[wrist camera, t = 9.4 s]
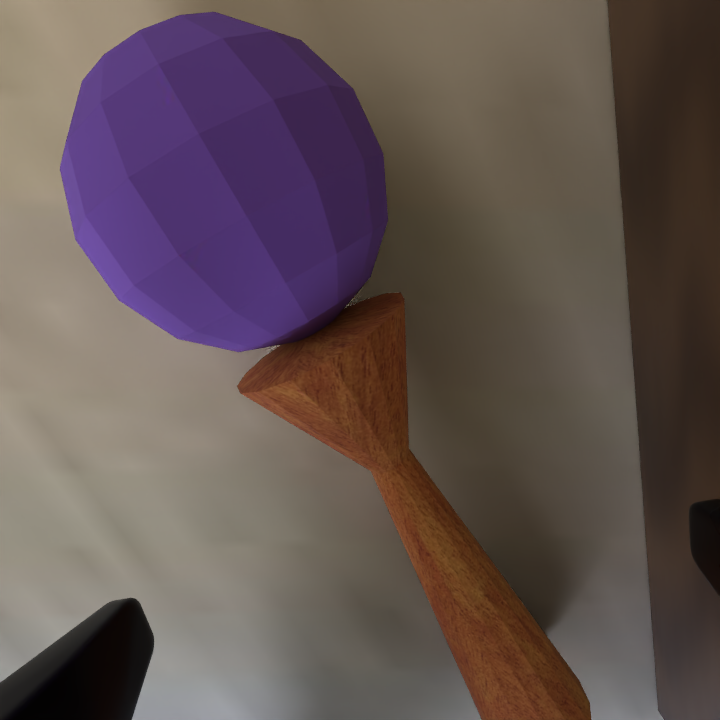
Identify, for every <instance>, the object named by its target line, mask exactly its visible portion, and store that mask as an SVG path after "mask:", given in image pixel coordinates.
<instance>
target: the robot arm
mask: <svg viewBox="0 0 720 720" xmlns="http://www.w3.org/2000/svg"><path fill="white" fill-rule="evenodd" d="M689 535H690V550H691V554H692V557H693V559H694V561H695V563H696V565H697V566H698V568H699V569H700V571H701V572H702V573H703V575H704V576H705V578H706V579H707V580H708V582H709V583H710V585H711V586H712V587H713V589H714V590H715V592H716V593H717V594H718V596H719V597H720V499H712V500H706V501H700V502H695V503H693V504H692V505H691V506H690V508H689ZM153 648H154V636H153V633H152V630H151V628H150V626H149V623H148V621H147V618H146V616H145V614H144V611H143V609H142V607H141V604H140V603H139V601H137V600H136V599H135V598H127V599H121V600H115V601H111V602H109V603H107V604H106V605H105V606H103V607H102V608H100V609H99V610H98V611H96V612H95V613H94V614H92V615H91V616H90V617H88V618H87V619H86V620H84V621H83V622H82V623H80V624H79V625H78V626H76V627H75V628H73V629H72V630H71V631H69V632H68V633H67V634H65V635H64V636H63V637H61V638H60V639H59V640H57V641H56V642H55V643H53V644H52V645H51V646H49V647H48V648H47V649H45V650H44V651H42V652H41V653H40V654H38V655H37V656H36V657H34V658H33V659H32V660H30V661H29V662H28V663H26V664H25V665H24V666H22V667H21V668H20V669H18V670H17V671H16V672H14V673H13V674H11V675H10V676H9V677H7V678H6V679H5V680H3V681H2V682H1V683H0V720H132V717H133V714H134V711H135V707H136V704H137V701H138V698H139V695H140V691H141V688H142V685H143V682H144V679H145V676H146V672H147V669H148V666H149V663H150V660H151V656H152V653H153Z"/></svg>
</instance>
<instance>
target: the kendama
mask: <svg viewBox="0 0 720 720" xmlns="http://www.w3.org/2000/svg"><path fill="white" fill-rule="evenodd" d="M60 171H61V176H62V181H63V185H64V190H65V194H66V199H67V203H68V208H69V212H70V217H71V221H72V226H73V230H74V235H75V239H76V241H77V242H78V244H79V245H80V247H81V248H82V249H83V251H84V252H85V254H86V255H87V256H88V258H89V259H90V261H91V262H92V263H93V265H94V266H95V268H96V269H97V270H98V272H99V273H100V275H101V276H102V277H103V279H104V280H105V281H106V283H107V284H108V286H109V287H110V288H111V290H112V291H113V293H114V294H115V295H116V297H117V298H118V300H119V301H121V302H122V303H124V304H125V305H127V306H129V307H130V308H132V309H133V310H135V311H136V312H138V313H139V314H141V315H142V316H144V317H145V318H147V319H148V320H150V321H151V322H153V323H154V324H156V325H157V326H159V327H160V328H162V329H164V330H165V331H167V332H168V333H170V334H171V335H173V336H174V337H176V338H177V339H181V340H186V341H190V342H195V343H199V344H204V345H209V346H213V347H218V348H223V349H227V350H232V351H236V352H241V351H247V350H253V349H258V348H264V347H269V346H275V345H280V346H279V347H277V348H276V349H275V350H273V351H272V352H270V353H269V354H268V355H266V356H265V357H263V358H262V359H261V360H260V361H259V362H258V363H257V364H256V365H255V366H253V367H252V368H251V369H250V370H249V371H248V372H247V373H246V374H245V375H244V377H243V378H242V380H241V381H240V383H239V384H238V385H237V387H238V389H239V391H240V393H241V394H243V395H244V396H246V397H248V398H249V399H251V400H253V401H254V402H256V403H258V404H259V405H261V406H263V407H264V408H266V409H268V410H269V411H271V412H273V413H274V414H276V415H278V416H279V417H281V418H283V419H284V420H286V421H288V422H289V423H291V424H293V425H295V426H296V427H298V428H300V429H301V430H303V431H305V432H306V433H308V434H310V435H311V436H313V437H315V438H316V439H318V440H320V441H321V442H323V443H325V444H326V445H328V446H330V447H331V448H333V449H335V450H336V451H338V452H340V453H341V454H343V455H345V456H346V457H348V458H350V459H352V460H353V461H355V462H357V463H358V464H360V465H362V466H363V467H365V468H367V469H368V470H370V471H371V472H372V475H373V477H374V479H375V481H376V484H377V486H378V488H379V490H380V493H381V495H382V497H383V499H384V501H385V504H386V506H387V508H388V510H389V513H390V515H391V517H392V519H393V522H394V524H395V526H396V528H397V531H398V533H399V535H400V537H401V540H402V542H403V544H404V546H405V548H406V551H407V553H408V555H409V557H410V560H411V562H412V564H413V566H414V569H415V571H416V573H417V575H418V578H419V580H420V582H421V584H422V587H423V589H424V591H425V593H426V595H427V598H428V600H429V602H430V604H431V607H432V609H433V611H434V613H435V616H436V618H437V620H438V622H439V625H440V627H441V629H442V631H443V634H444V636H445V638H446V640H447V642H448V645H449V647H450V649H451V651H452V654H453V656H454V658H455V660H456V663H457V665H458V667H459V669H460V672H461V674H462V676H463V678H464V681H465V683H466V685H467V687H468V689H469V692H470V694H471V696H472V698H473V701H474V703H475V705H476V707H477V710H478V712H479V714H480V716H481V719H482V720H591V711H590V702H589V700H588V698H587V696H586V694H585V692H584V690H583V687H582V685H581V683H580V681H579V680H578V678H577V677H576V675H575V674H574V673H573V671H572V670H571V669H570V667H569V666H568V665H567V663H566V662H565V660H564V659H563V658H562V656H561V655H560V654H559V652H558V651H557V650H556V648H555V647H554V645H553V644H552V643H551V641H550V640H549V639H548V637H547V636H546V635H545V633H544V632H543V631H542V629H541V628H540V626H539V625H538V624H537V622H536V621H535V620H534V618H533V617H532V616H531V614H530V613H529V611H528V610H527V609H526V607H525V606H524V605H523V603H522V602H521V601H520V599H519V598H518V596H517V595H516V594H515V592H514V591H513V590H512V588H511V587H510V586H509V584H508V583H507V581H506V580H505V579H504V577H503V576H502V575H501V573H500V572H499V571H498V569H497V568H496V566H495V565H494V564H493V562H492V561H491V560H490V558H489V557H488V556H487V554H486V553H485V551H484V550H483V549H482V547H481V546H480V545H479V543H478V542H477V541H476V539H475V538H474V536H473V535H472V534H471V532H470V531H469V530H468V528H467V527H466V526H465V524H464V523H463V521H462V520H461V519H460V517H459V516H458V515H457V513H456V512H455V511H454V509H453V508H452V506H451V505H450V504H449V502H448V501H447V500H446V498H445V497H444V496H443V494H442V493H441V491H440V490H439V489H438V487H437V486H436V485H435V483H434V482H433V481H432V479H431V478H430V476H429V475H428V474H427V472H426V471H425V470H424V468H423V467H422V466H421V464H420V463H419V461H418V460H417V459H416V457H415V456H414V455H413V453H412V452H411V451H410V449H409V437H408V403H407V369H406V335H405V301H404V297H403V296H402V294H401V292H399V293H385V294H382V295H379V296H375V297H372V298H369V299H366V300H363V301H361V302H358V303H356V304H354V305H352V306H349V307H347V308H345V306H346V305H347V304H348V303H349V302H350V301H351V299H352V298H353V297H354V296H355V295H356V293H357V292H358V291H359V290H360V289H361V288H362V286H363V285H364V284H365V283H366V282H367V281H368V279H369V278H370V277H371V274H372V270H373V267H374V264H375V261H376V258H377V254H378V251H379V248H380V245H381V242H382V238H383V235H384V232H385V229H386V226H387V222H388V211H387V197H386V183H385V169H384V156H383V152H382V150H381V148H380V145H379V143H378V141H377V139H376V137H375V135H374V133H373V130H372V128H371V126H370V124H369V122H368V120H367V118H366V115H365V113H364V111H363V109H362V107H361V105H360V102H359V100H358V98H357V96H356V94H355V92H354V90H353V88H352V87H351V86H350V85H348V84H347V83H346V82H345V81H344V80H343V79H342V78H341V77H340V76H339V75H338V74H337V73H336V72H335V71H333V70H332V69H331V68H330V67H329V66H328V65H327V64H326V63H325V62H324V61H323V60H322V59H321V58H320V57H318V56H317V55H316V54H315V53H314V52H313V51H312V50H311V49H310V48H309V47H308V46H307V45H306V44H305V43H303V42H302V41H301V40H299V39H296V38H293V37H290V36H287V35H284V34H281V33H278V32H275V31H272V30H269V29H266V28H263V27H260V26H256V25H253V24H250V23H247V22H244V21H241V20H238V19H235V18H232V17H229V16H226V15H222V14H219V13H216V12H207V13H197V14H186V15H179V16H176V17H173V18H171V19H168V20H165V21H163V22H160V23H158V24H155V25H152V26H150V27H147V28H144V29H142V30H139V31H138V32H136V33H135V34H133V35H132V36H130V37H129V38H128V39H126V40H125V41H123V42H122V43H120V44H119V45H117V46H116V47H114V48H113V49H111V50H110V51H108V52H107V53H105V54H104V55H103V56H102V58H101V59H100V60H99V61H98V62H97V64H96V65H95V66H94V67H93V68H92V70H91V71H90V72H89V73H88V74H87V76H86V77H85V78H84V79H83V81H82V84H81V87H80V91H79V95H78V99H77V102H76V106H75V110H74V113H73V117H72V121H71V125H70V128H69V132H68V136H67V140H66V144H65V148H64V153H63V157H62V161H61V166H60ZM344 308H345V309H344ZM281 344H282V345H281Z"/></svg>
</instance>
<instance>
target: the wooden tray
mask: <svg viewBox="0 0 720 720" xmlns="http://www.w3.org/2000/svg"><path fill="white" fill-rule="evenodd" d="M608 13H609V27H610V41H611V55H612V69H613V83H614V97H615V111H616V125H617V139H618V153H619V167H620V181H621V195H622V209H623V223H624V236H625V250H626V264H627V278H628V292H629V306H630V320H631V334H632V348H633V362H634V376H635V390H636V404H637V418H638V432H639V446H640V460H641V474H642V488H643V502H644V516H645V530H646V544H647V558H648V572H649V586H650V600H651V614H652V628H653V642H654V656H655V670H656V684H657V698H658V710H659V712H660V714H661V715H662V717H663V719H664V720H720V597H719V596H718V594H717V593H716V592H715V590H714V589H713V587H712V586H711V585H710V583H709V582H708V580H707V579H706V578H705V576H704V575H703V573H702V572H701V571H700V569H699V568H698V566H697V565H696V563H695V561H694V559H693V557H692V554H691V550H690V535H689V508H690V506H691V505H692V504H693V503H695V502H700V501H706V500H712V499H720V0H608Z"/></svg>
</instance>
